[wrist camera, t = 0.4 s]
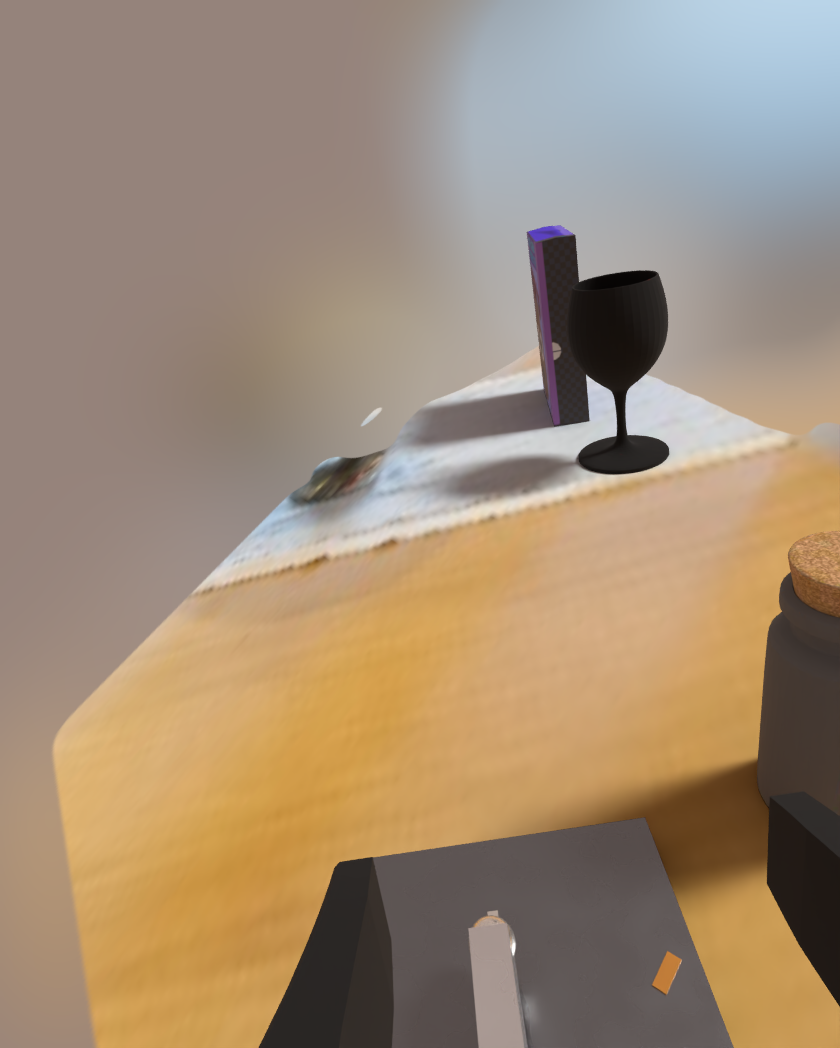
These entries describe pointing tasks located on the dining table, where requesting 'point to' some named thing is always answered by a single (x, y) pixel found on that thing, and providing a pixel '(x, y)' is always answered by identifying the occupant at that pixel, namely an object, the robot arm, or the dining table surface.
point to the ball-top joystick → (496, 984)
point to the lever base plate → (549, 941)
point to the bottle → (804, 678)
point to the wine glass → (619, 356)
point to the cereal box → (557, 322)
